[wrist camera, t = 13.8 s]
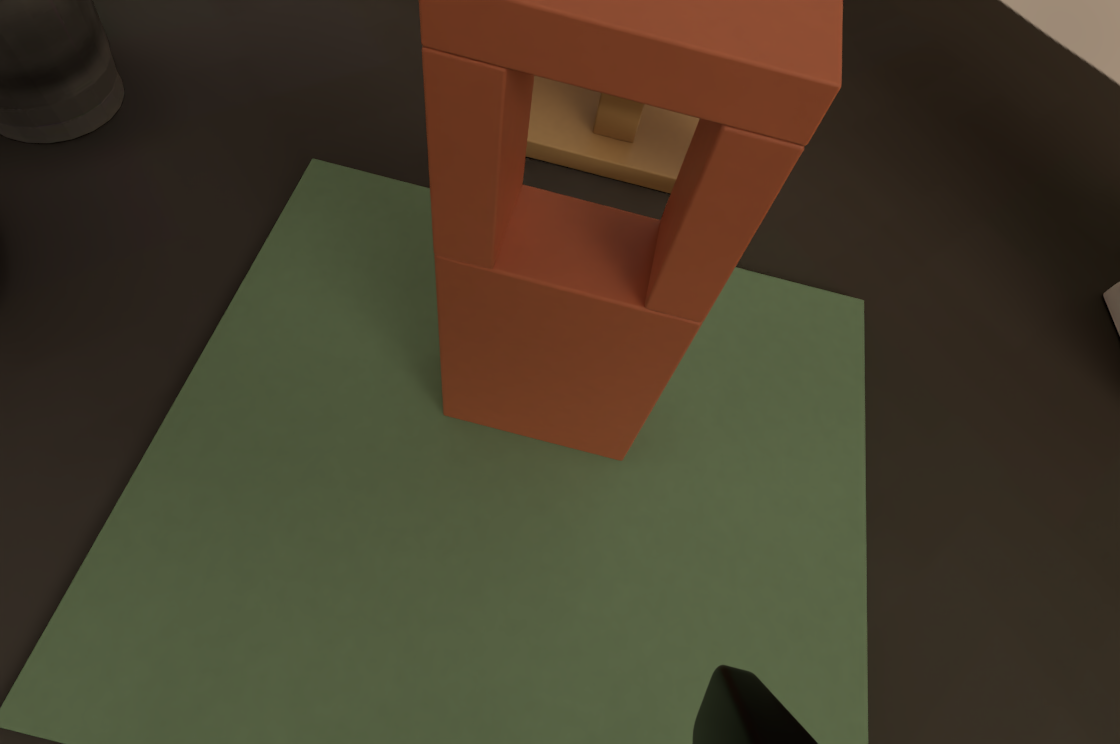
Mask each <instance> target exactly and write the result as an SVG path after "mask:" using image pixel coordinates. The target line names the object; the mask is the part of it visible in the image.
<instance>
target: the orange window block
mask: <svg viewBox="0 0 1120 744" xmlns="http://www.w3.org/2000/svg"><path fill="white" fill-rule="evenodd" d="M419 10H420V27H421V43H422V45H423V47H422V60H423V77H424V95H425V112H426V129H427V146H428V163H429V180H430V197H431V215H432V232H433V249H434V259H435V276H436V293H437V311H438V328H439V346H440V363H441V381H442V398H443V414H444V415H445V416H449V417H452V418H456V419H460V420H464V421H468V422H472V423H476V424H480V425H484V426H487V427H491V428H495V429H499V430H503V431H507V432H511V433H515V434H519V435H522V436H526V437H530V438H534V439H538V440H542V441H546V442H550V443H554V444H557V445H561V446H565V447H569V448H573V449H577V450H581V451H585V452H589V453H592V454H596V455H600V456H604V457H608V458H612V459H616V460H620V461H622V460H623V459H624V457H625V455H626V454H627V452H628V450H629V449H630V447H631V445H632V443H633V442H634V440H635V438H636V437H637V435H638V433H639V431H640V430H641V428H642V426H643V425H644V423H645V421H646V419H647V418H648V416H649V414H650V413H651V411H652V409H653V407H654V406H655V404H656V402H657V401H658V399H659V397H660V395H661V394H662V392H663V390H664V389H665V387H666V385H667V383H668V382H669V380H670V378H671V377H672V375H673V373H674V371H675V370H676V368H677V366H678V365H679V363H680V361H681V359H682V358H683V356H684V354H685V352H686V351H687V349H688V347H689V346H690V344H691V342H692V340H693V339H694V337H695V335H696V334H697V332H698V330H699V328H700V327H701V325H702V322H703V321H704V320H705V318H706V317H707V315H708V313H709V311H710V310H711V308H712V306H713V305H714V303H715V301H716V299H717V298H718V296H719V294H720V293H721V291H722V289H723V287H724V286H725V284H726V282H727V281H728V279H729V277H730V275H731V274H732V272H733V270H734V269H735V267H736V265H737V263H738V262H739V260H740V258H741V257H742V255H743V253H744V251H745V250H746V248H747V246H748V245H749V243H750V241H751V239H752V238H753V236H754V234H755V233H756V231H757V229H758V227H759V226H760V224H761V222H762V221H763V219H764V217H765V215H766V214H767V212H768V210H769V209H770V207H771V205H772V203H773V202H774V200H775V198H776V197H777V195H778V193H779V191H780V190H781V188H782V186H783V185H784V183H785V181H786V179H787V178H788V176H789V174H790V173H791V171H792V169H793V167H794V166H795V164H796V162H797V161H798V159H799V157H800V155H801V154H802V152H803V150H804V147H805V145H807V144H808V143H809V141H810V139H811V138H812V136H813V134H814V132H815V131H816V129H817V127H818V126H819V124H820V122H821V121H822V119H823V117H824V115H825V114H826V112H827V110H828V109H829V107H830V105H831V103H832V102H833V100H834V98H835V97H836V95H837V93H838V91H839V90H840V88H841V79H842V20H843V0H419ZM534 75H535V76H539V77H542V78H546V79H550V80H554V81H558V82H562V83H565V84H569V85H573V86H577V87H581V88H585V89H588V90H592V91H596V92H600V93H604V94H608V95H612V96H615V97H619V98H623V99H627V100H631V101H635V102H638V103H642V104H646V105H650V106H654V107H658V108H661V109H665V110H669V111H673V112H677V113H681V114H684V115H688V116H692V117H696V118H700V119H699V122H698V124H697V127H696V129H695V132H694V135H693V137H692V140H691V142H690V145H689V148H688V150H687V153H686V155H685V158H684V161H683V163H682V166H681V168H680V171H679V174H678V176H677V179H676V181H675V184H674V187H673V189H672V192H671V194H670V197H669V200H668V202H667V205H666V207H665V210H664V213H663V215H662V218H661V220H658V219H654V218H650V217H646V216H642V215H639V214H635V213H631V212H627V211H623V210H619V209H615V208H612V207H608V206H604V205H600V204H596V203H592V202H588V201H585V200H581V199H577V198H573V197H569V196H565V195H561V194H558V193H554V192H550V191H546V190H542V189H538V188H535V187H531V186H527V185H523V184H522V183H523V174H524V165H525V156H526V147H527V138H528V129H529V120H530V111H531V102H532V92H533V83H534Z"/></svg>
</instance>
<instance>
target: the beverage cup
mask: <svg viewBox="0 0 1120 744" xmlns="http://www.w3.org/2000/svg"><path fill="white" fill-rule="evenodd" d="M124 94H125V92H124V87H123V83H122V79H121V77H120V75H119V73H118V71H117V70H116V67H115V62H114V60H113V57H112V54H111V51H110V46H109V41H108V38H107V36H106V33H105V31H104V28H103V26H102V23H101V21H100V18H99V16H98V13H97V11H96V8H95V6H94V3H93V1H92V0H0V134H1V135H3V136H4V137H6V138H10V139H14V140H18V141H22V142H26V143H54V142H60V141H65V140H71V139H74V138H77V137H80V136H82V135H85V134H87V133H90V132H92V131H94V130H96V129H97V128H99V127H100V126H102V125H103V124H105V123H106V122H108V121H109V120H110V119H111V118H112V117H113V116H114V114H115V113H116V112H117V111H118V109H119V108H120V107H121V104H122V101H123V97H124Z"/></svg>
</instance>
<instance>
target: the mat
mask: <svg viewBox="0 0 1120 744" xmlns="http://www.w3.org/2000/svg"><path fill="white" fill-rule="evenodd" d="M720 665H727V666H731V667H735V668H739V669H743V670H747V671H750V672H752V673H754V674H755V675H756V676H757V677H758V678H759V679H760V680H761V682H762V683H763V684H764V685H765V686H766V687H767V688H768V689H769V690H770V691H771V692H772V694H773V695H774V696H775V697H776V698H777V699H778V700H779V701H780V702H781V703H782V705H783V706H784V707H785V708H786V709H787V710H788V711H789V712H790V713H791V714H792V715H793V717H794V718H795V719H796V720H797V721H798V722H799V723H800V724H801V725H802V726H803V727H804V729H805V730H806V731H807V732H808V733H809V734H810V735H811V736H812V737H813V738H814V739H815V741H816V742H817V743H818V744H868V678H867V571H866V464H865V357H864V300H861V299H857V298H853V297H849V296H845V295H841V294H837V293H833V292H829V291H826V290H822V289H818V288H814V287H810V286H806V285H802V284H798V283H795V282H791V281H787V280H783V279H779V278H775V277H771V276H767V275H764V274H760V273H756V272H752V271H748V270H744V269H740V268H736V267H735V269H734V270H733V272H732V274H731V275H730V277H729V279H728V281H727V282H726V284H725V286H724V287H723V289H722V291H721V293H720V294H719V296H718V298H717V299H716V301H715V303H714V305H713V306H712V308H711V310H710V311H709V313H708V315H707V317H706V318H705V320H704V321H703V322H702V325H701V327H700V328H699V330H698V332H697V334H696V335H695V337H694V339H693V340H692V342H691V344H690V346H689V347H688V349H687V351H686V352H685V354H684V356H683V358H682V359H681V361H680V363H679V365H678V366H677V368H676V370H675V371H674V373H673V375H672V377H671V378H670V380H669V382H668V383H667V385H666V387H665V389H664V390H663V392H662V394H661V395H660V397H659V399H658V401H657V402H656V404H655V406H654V407H653V409H652V411H651V413H650V414H649V416H648V418H647V419H646V421H645V423H644V425H643V426H642V428H641V430H640V431H639V433H638V435H637V437H636V438H635V440H634V442H633V443H632V445H631V447H630V449H629V450H628V452H627V454H626V455H625V457H624V459H623V460H622V461H620V460H616V459H612V458H608V457H604V456H600V455H596V454H592V453H589V452H585V451H581V450H577V449H573V448H569V447H565V446H561V445H557V444H554V443H550V442H546V441H542V440H538V439H534V438H530V437H526V436H522V435H519V434H515V433H511V432H507V431H503V430H499V429H495V428H491V427H487V426H484V425H480V424H476V423H472V422H468V421H464V420H460V419H456V418H452V417H449V416H445V415H444V414H443V398H442V381H441V363H440V346H439V328H438V311H437V293H436V276H435V259H434V249H433V232H432V215H431V197H430V188H426V187H422V186H418V185H414V184H410V183H406V182H403V181H399V180H395V179H391V178H387V177H383V176H379V175H375V174H372V173H368V172H364V171H360V170H356V169H352V168H348V167H344V166H340V165H337V164H333V163H329V162H325V161H321V160H317V159H312V160H311V162H310V164H309V165H308V167H307V169H306V171H305V172H304V174H303V176H302V178H301V179H300V181H299V183H298V185H297V187H296V188H295V190H294V192H293V194H292V195H291V197H290V199H289V201H288V202H287V204H286V206H285V208H284V209H283V211H282V213H281V215H280V216H279V218H278V220H277V222H276V223H275V225H274V227H273V229H272V231H271V232H270V234H269V236H268V238H267V239H266V241H265V243H264V245H263V246H262V248H261V250H260V252H259V253H258V255H257V257H256V259H255V260H254V262H253V264H252V266H251V267H250V269H249V271H248V273H247V275H246V276H245V278H244V280H243V282H242V283H241V285H240V287H239V289H238V290H237V292H236V294H235V296H234V297H233V299H232V301H231V303H230V304H229V306H228V308H227V310H226V311H225V313H224V315H223V317H222V319H221V320H220V322H219V324H218V326H217V327H216V329H215V331H214V333H213V334H212V336H211V338H210V340H209V341H208V343H207V345H206V347H205V348H204V350H203V352H202V354H201V355H200V357H199V359H198V361H197V363H196V364H195V366H194V368H193V370H192V371H191V373H190V375H189V377H188V378H187V380H186V382H185V384H184V385H183V387H182V389H181V391H180V392H179V394H178V396H177V398H176V399H175V401H174V403H173V405H172V407H171V408H170V410H169V412H168V414H167V415H166V417H165V419H164V421H163V422H162V424H161V426H160V428H159V429H158V431H157V433H156V435H155V436H154V438H153V440H152V442H151V444H150V445H149V447H148V449H147V451H146V452H145V454H144V456H143V458H142V459H141V461H140V463H139V465H138V466H137V468H136V470H135V472H134V473H133V475H132V477H131V479H130V480H129V482H128V484H127V486H126V488H125V489H124V491H123V493H122V495H121V496H120V498H119V500H118V502H117V503H116V505H115V507H114V509H113V510H112V512H111V514H110V516H109V517H108V519H107V521H106V523H105V524H104V526H103V528H102V530H101V532H100V533H99V535H98V537H97V539H96V540H95V542H94V544H93V546H92V547H91V549H90V551H89V553H88V554H87V556H86V558H85V560H84V561H83V563H82V565H81V567H80V568H79V570H78V572H77V574H76V576H75V577H74V579H73V581H72V583H71V584H70V586H69V588H68V590H67V591H66V593H65V595H64V597H63V598H62V600H61V602H60V604H59V605H58V607H57V609H56V611H55V612H54V614H53V616H52V618H51V620H50V621H49V623H48V625H47V627H46V628H45V630H44V632H43V634H42V635H41V637H40V639H39V641H38V642H37V644H36V646H35V648H34V649H33V651H32V653H31V655H30V656H29V658H28V660H27V662H26V664H25V665H24V667H23V669H22V671H21V672H20V674H19V676H18V678H17V679H16V681H15V683H14V685H13V686H12V688H11V690H10V692H9V693H8V695H7V697H6V699H5V701H4V702H3V704H2V706H1V708H0V728H4V729H8V730H12V731H16V732H20V733H24V734H28V735H32V736H36V737H40V738H44V739H48V740H52V741H56V742H60V743H64V744H693V743H692V742H693V729H694V724H695V720H696V717H697V714H698V711H699V708H700V706H701V703H702V700H703V698H704V695H705V692H706V690H707V687H708V684H709V682H710V679H711V676H712V674H713V672H714V671H715V669H716V668H717V667H718V666H720Z"/></svg>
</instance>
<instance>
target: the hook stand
mask: <svg viewBox="0 0 1120 744" xmlns="http://www.w3.org/2000/svg"><path fill="white" fill-rule="evenodd" d="M699 119H700V118H696V117H692V116H688V115H684V114H681V113H677V112H673V111H669V110H665V109H661V108H658V107H654V106H650V105H646V104H642V103H638V102H635V101H631V100H627V99H623V98H619V97H615V96H612V95H608V94H604V93H600V92H596V91H592V90H588V89H585V88H581V87H577V86H573V85H569V84H565V83H562V82H558V81H554V80H550V79H546V78H542V77H539V76H535V75H534V83H533V92H532V102H531V111H530V120H529V129H528V138H527V147H526V156H527V157H530V158H534V159H538V160H542V161H546V162H550V163H554V164H558V165H561V166H565V167H569V168H573V169H577V170H581V171H585V172H588V173H592V174H596V175H600V176H604V177H608V178H612V179H616V180H619V181H623V182H627V183H631V184H635V185H639V186H643V187H647V188H650V189H654V190H658V191H662V192H666V193H670V194H671V192H672V189H673V187H674V184H675V181H676V179H677V176H678V174H679V171H680V168H681V166H682V163H683V161H684V158H685V155H686V153H687V150H688V148H689V145H690V142H691V140H692V137H693V135H694V132H695V129H696V127H697V124H698V122H699Z"/></svg>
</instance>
